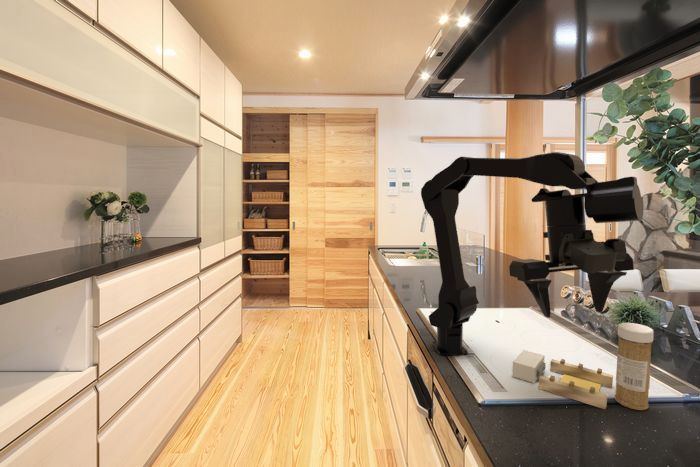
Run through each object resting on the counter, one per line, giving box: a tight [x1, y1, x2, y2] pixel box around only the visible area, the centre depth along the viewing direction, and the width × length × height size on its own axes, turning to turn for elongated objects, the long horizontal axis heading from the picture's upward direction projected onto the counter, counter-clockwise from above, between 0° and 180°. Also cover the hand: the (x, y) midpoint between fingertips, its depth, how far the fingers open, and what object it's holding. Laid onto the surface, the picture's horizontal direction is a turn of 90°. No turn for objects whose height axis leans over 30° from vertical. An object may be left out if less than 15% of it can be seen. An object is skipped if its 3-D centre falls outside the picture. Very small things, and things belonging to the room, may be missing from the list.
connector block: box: [511, 349, 546, 384], centre depth 69 cm, size 4×7×3 cm, turn 138°
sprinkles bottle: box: [614, 322, 654, 411], centre depth 58 cm, size 5×5×13 cm
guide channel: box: [538, 358, 614, 410], centre depth 64 cm, size 10×10×3 cm
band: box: [559, 374, 602, 393], centre depth 64 cm, size 6×7×1 cm
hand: (573, 314), depth 60 cm, fingers open, 9 cm apart
